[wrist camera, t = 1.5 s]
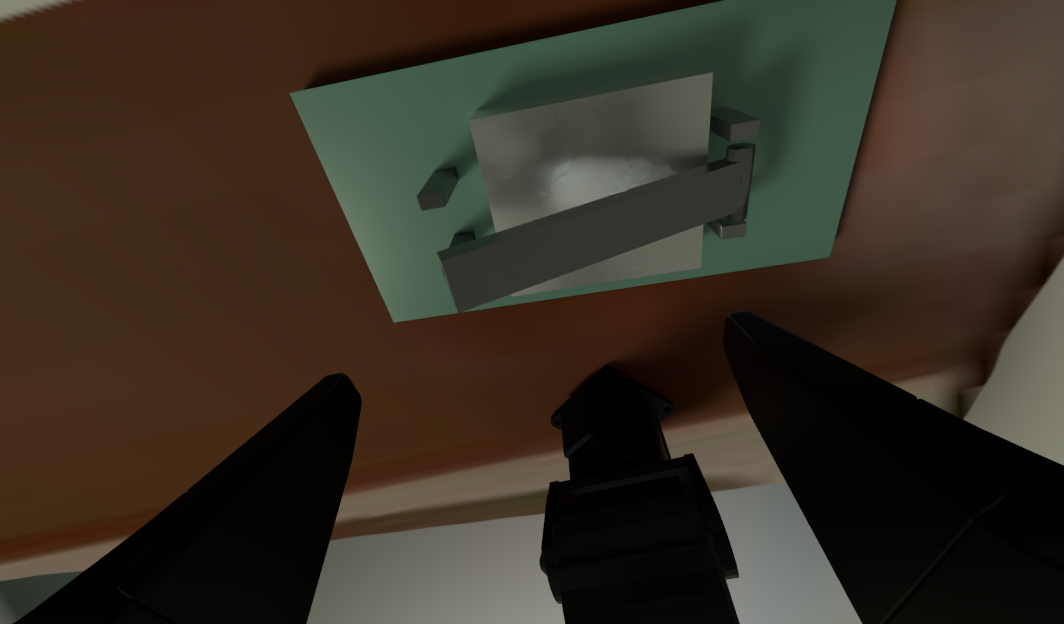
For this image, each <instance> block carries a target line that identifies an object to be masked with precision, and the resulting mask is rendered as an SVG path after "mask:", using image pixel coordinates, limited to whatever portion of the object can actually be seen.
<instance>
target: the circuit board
mask: <svg viewBox="0 0 1064 624" xmlns="http://www.w3.org/2000/svg"><path fill="white" fill-rule="evenodd" d="M896 1H897V0H722V1H717V2H712V3H708V4H703V5H698V6H694V7H689V8H684V9H680V10H675V11H670V12H666V13H661V14H656V15H652V16H647V17H642V18H637V19H633V20H628V21H623V22H619V23H614V24H609V25H605V26H600V27H595V28H591V29H586V30H581V31H577V32H572V33H567V34H563V35H558V36H553V37H549V38H544V39H539V40H535V41H530V42H525V43H521V44H516V45H511V46H507V47H502V48H497V49H493V50H488V51H483V52H478V53H474V54H469V55H464V56H460V57H455V58H450V59H446V60H441V61H436V62H432V63H427V64H422V65H418V66H413V67H408V68H404V69H399V70H394V71H390V72H385V73H380V74H376V75H371V76H366V77H362V78H357V79H352V80H348V81H343V82H338V83H334V84H329V85H324V86H319V87H315V88H310V89H305V90H301V91H297V92H293V93H290V95H291V98H292V100H293V102H294V104H295V106H296V108H297V111H298V113H299V115H300V117H301V119H302V122H303V124H304V126H305V128H306V130H307V133H308V135H309V137H310V139H311V141H312V144H313V146H314V148H315V150H316V152H317V155H318V157H319V159H320V161H321V163H322V166H323V168H324V170H325V172H326V174H327V177H328V179H329V181H330V183H331V185H332V188H333V190H334V192H335V194H336V196H337V198H338V201H339V203H340V205H341V207H342V209H343V212H344V214H345V216H346V218H347V220H348V223H349V225H350V227H351V229H352V231H353V234H354V236H355V238H356V240H357V242H358V245H359V247H360V249H361V251H362V253H363V256H364V258H365V260H366V262H367V264H368V267H369V269H370V271H371V273H372V275H373V278H374V280H375V282H376V284H377V286H378V288H379V291H380V293H381V295H382V297H383V299H384V302H385V304H386V306H387V308H388V310H389V313H390V315H391V317H392V319H393V321H394V322H400V321H407V320H413V319H420V318H427V317H434V316H440V315H447V314H454V313H458V311H457V309H456V307H455V304H454V302H453V299H452V296H451V294H450V291H449V288H448V285H447V282H446V280H445V278H444V275H443V272H442V269H441V264H440V261H439V258H438V256H437V253H436V252H438V251H441V250H444V249H448V248H449V246H450V244H451V241H452V239H453V236H454V234H458V233H464V232H470V231H474V235H475V238H476V239H478V238H481V237H484V236H487V235H490V234H494V233H496V231H495V227H494V223H493V219H492V214H491V210H490V206H489V202H488V198H487V194H486V190H485V186H484V182H483V178H482V173H481V169H480V165H479V161H478V157H477V153H476V149H475V145H474V141H473V137H472V132H471V128H470V124H469V119H470V118H471V117H472V115H473V114H474V112H475V111H476V110H481V109H486V108H491V107H496V106H501V105H506V104H511V103H517V102H522V101H527V100H532V99H537V98H542V97H547V96H552V95H557V94H562V93H567V92H572V91H577V90H582V89H587V88H592V87H597V86H602V85H607V84H612V83H617V82H622V81H627V80H632V79H637V78H642V77H647V76H652V75H657V74H662V73H667V72H672V71H677V70H682V69H687V68H695V69H700V70H704V71H709V72H713V81H712V97H711V109H714V108H719V107H724V106H726V107H729V108H732V109H734V110H737V111H740V112H742V113H745V114H748V115H750V116H753V117H755V118H758V119H761V120H760V128H759V136H758V137H755V138H750V139H744V140H739V141H733V142H729V141H728V140H726V139H724V138H722V137H720V136H719V135H717V134H715V133H713V132H711V131H709V144H708V160H707V164H708V163H712V162H715V161H718V160H721V159H724V158H726V149H727V146H729V145H732V144H737V143H753V144H755V145H756V151H755V159H754V167H753V175H752V183H751V191H750V199H749V207H748V215H747V218H746V219H744V221H746V222H747V231H746V236H745V237H739V238H732V239H726V240H721V239H720V238H719V237H718V236H717V235H716V234H715V233H714V232H713V230H712V229H711V228H710V227H709V226H708V225H707V224H706V223H705V224H703V240H702V256H701V268H697V269H691V270H684V271H677V272H671V273H664V274H658V275H651V276H644V277H638V278H631V279H625V280H618V281H611V282H605V283H598V284H592V285H585V286H578V287H572V288H565V289H559V290H552V291H545V292H539V293H532V294H526V295H519V296H511V294H510V295H507V296H505V297H502V298H499V299H496V300H494V301H491V302H488V303H485V304H483V305H480V306H477V307H474V308H472V309H469V310H466V311H463V312H467V311H474V310H480V309H487V308H494V307H500V306H507V305H514V304H520V303H527V302H534V301H540V300H547V299H554V298H561V297H567V296H574V295H581V294H587V293H594V292H601V291H607V290H614V289H621V288H627V287H634V286H641V285H647V284H654V283H661V282H667V281H674V280H681V279H687V278H694V277H701V276H708V275H714V274H721V273H728V272H734V271H741V270H748V269H754V268H761V267H768V266H774V265H781V264H788V263H794V262H801V261H808V260H814V259H821V258H828V257H830V255H831V251H832V247H833V243H834V239H835V236H836V232H837V228H838V224H839V220H840V216H841V212H842V209H843V205H844V201H845V197H846V193H847V189H848V186H849V182H850V178H851V174H852V170H853V166H854V163H855V159H856V155H857V151H858V147H859V143H860V139H861V136H862V132H863V128H864V124H865V120H866V116H867V113H868V109H869V105H870V101H871V97H872V93H873V90H874V86H875V82H876V78H877V74H878V70H879V66H880V63H881V59H882V55H883V51H884V47H885V43H886V40H887V36H888V32H889V28H890V24H891V20H892V17H893V13H894V9H895V5H896ZM451 167H456V170H457V173H458V177H459V181H458V183H457V185H456V187H455V189H454V191H453V193H452V195H451V197H450V199H449V201H448V203H447V205H446V207H441V208H435V209H430V210H424V211H421V208H420V205H419V202H418V199H417V195H418V193H419V192H420V191H421V189H422V188H423V186H424V185H425V184H426V182H427V181H428V179H429V178H430V176H431V175H432V174H433V172H434V171H435V170H440V169H446V168H451Z"/></svg>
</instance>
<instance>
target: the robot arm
mask: <svg viewBox="0 0 1064 624" xmlns="http://www.w3.org/2000/svg"><path fill="white" fill-rule="evenodd" d="M723 345H724V350H725V353H726V356H727V358H728V361H729V363H730V366H731V369H732V371H733V374H734V376H735V379H736V381H737V384H738V387H739V389H740V392H741V394H742V397H743V399H744V402H745V404H746V407H747V409H748V411H749V413H750V415H751V417H752V419H753V421H754V423H755V425H756V427H757V428H758V430H759V432H760V434H761V436H762V438H763V440H764V441H765V443H766V445H767V447H768V449H769V451H770V453H771V454H772V456H773V458H774V460H775V462H776V464H777V466H778V468H779V469H780V471H781V473H782V475H783V477H784V479H785V481H786V482H787V484H788V486H789V488H790V490H791V492H792V493H793V495H794V497H795V499H796V501H797V503H798V504H799V507H800V508H801V510H802V512H803V514H804V516H805V517H806V520H807V521H808V523H809V525H810V527H811V529H812V531H813V533H814V534H815V536H816V538H817V540H818V542H819V544H820V546H821V548H822V549H823V551H824V553H825V555H826V557H827V559H828V560H829V562H830V564H831V566H832V568H833V570H834V572H835V574H836V575H837V577H838V579H839V581H840V583H841V585H842V587H843V588H844V590H845V592H846V594H847V596H848V598H849V600H850V601H851V603H852V605H853V607H854V609H855V611H856V613H857V614H858V616H859V618H860V620H861V622H862V624H1064V465H1061V464H1059V463H1057V462H1055V461H1052V460H1050V459H1048V458H1045V457H1043V456H1041V455H1039V454H1036V453H1034V452H1032V451H1029V450H1027V449H1025V448H1023V447H1021V446H1018V445H1016V444H1014V443H1012V442H1010V441H1007V440H1005V439H1003V438H1001V437H999V436H996V435H994V434H992V433H990V432H988V431H985V430H983V429H981V428H979V427H977V426H975V425H973V424H971V423H969V422H967V421H965V420H963V419H961V418H959V417H957V416H955V415H953V414H951V413H948V412H946V411H944V410H942V409H940V408H938V407H937V406H935V405H933V404H931V403H929V402H927V401H925V400H923V399H917V397H916V396H915V395H913V394H911V393H909V392H907V391H905V390H903V389H901V388H899V387H897V386H895V385H893V384H891V383H889V382H887V381H885V380H883V379H881V378H879V377H877V376H875V375H873V374H871V373H869V372H867V371H866V370H864V369H862V368H860V367H858V366H856V365H854V364H852V363H850V362H848V361H846V360H844V359H842V358H840V357H838V356H836V355H834V354H832V353H830V352H828V351H826V350H824V349H822V348H820V347H818V346H816V345H814V344H812V343H811V342H809V341H807V340H805V339H803V338H801V337H799V336H797V335H795V334H793V333H791V332H789V331H787V330H785V329H783V328H781V327H779V326H777V325H775V324H773V323H771V322H769V321H767V320H765V319H763V318H761V317H759V316H757V315H756V314H754V313H752V312H749V311H738V312H732V313H729V314H728V315H727V316H726V320H725V329H724V339H723ZM606 374H610V375H606ZM361 404H362V401H361V397H360V394H359V393H358V391H357V389H356V388H355V386H354V385H353V383H352V382H351V380H350V379H349V377H348V376H347V375H346V374H344V373H338V374H332V375H328V376H326V377H324V378H323V379H322V380H321V381H320V382H318V383H317V384H316V385H315V386H313V387H312V388H311V389H310V390H309V391H307V392H306V393H305V394H304V395H303V396H301V397H300V398H299V399H298V400H296V401H295V402H294V403H293V404H292V405H290V406H289V407H288V408H287V409H286V410H284V411H283V412H282V413H281V414H279V415H278V416H277V417H276V418H275V419H273V420H272V421H271V422H270V423H268V424H267V425H266V426H265V427H264V428H262V429H261V430H260V431H259V432H258V433H256V434H255V435H254V436H253V437H251V438H250V439H249V440H248V441H247V442H245V443H244V444H243V445H242V446H241V447H239V448H238V449H237V450H236V451H234V452H233V453H232V454H231V455H230V456H228V457H227V458H226V459H225V460H224V461H222V462H221V463H220V464H219V465H217V466H216V467H215V468H214V469H213V470H211V471H210V472H209V473H208V474H207V475H205V476H204V477H203V478H202V479H200V480H199V481H198V482H197V483H196V484H194V485H193V486H192V487H191V488H190V489H188V491H187V493H183V494H182V495H181V496H180V497H178V498H177V499H176V500H175V501H174V502H172V503H171V504H170V505H169V506H168V507H166V508H165V509H164V510H163V511H161V512H160V513H159V514H158V515H156V516H155V517H154V518H153V519H151V520H150V521H149V522H148V523H146V524H145V525H144V526H143V527H141V528H140V529H139V530H138V531H136V532H135V533H134V534H132V535H131V536H130V537H129V538H127V539H126V540H125V541H123V542H122V543H121V544H119V545H118V546H117V547H115V548H114V549H113V550H112V551H110V552H109V553H108V554H106V555H105V556H104V557H102V558H101V559H100V560H98V561H97V562H96V563H94V564H93V565H92V566H90V567H89V568H88V569H86V570H85V571H84V572H82V573H81V574H80V575H79V576H77V577H76V578H74V579H73V580H72V581H70V582H69V583H68V584H66V585H65V586H64V587H62V588H61V589H60V590H58V591H57V592H56V593H54V594H53V595H52V596H50V597H49V598H48V599H47V600H45V601H44V602H43V603H41V604H40V605H38V606H37V607H36V608H35V609H33V610H32V611H30V612H29V613H28V614H26V615H25V616H23V617H22V618H21V619H19V620H18V621H16V622H15V623H13V624H306V623H307V620H308V616H309V613H310V609H311V605H312V602H313V598H314V595H315V591H316V588H317V584H318V581H319V577H320V573H321V570H322V566H323V563H324V559H325V556H326V552H327V548H328V545H329V541H330V538H331V534H332V531H333V527H334V524H335V520H336V517H337V513H338V509H339V506H340V502H341V499H342V495H343V492H344V488H345V485H346V481H347V477H348V474H349V470H350V466H351V462H352V457H353V452H354V447H355V441H356V435H357V429H358V423H359V417H360V411H361ZM666 407H667V408H666ZM673 411H674V406H673V403H672V402H671V401H669V400H668V399H666V398H664V397H662V396H661V395H659V394H657V393H655V392H654V391H652V390H650V389H648V388H646V387H645V386H643V385H641V384H639V383H638V382H636V381H634V380H632V379H631V378H629V377H627V376H625V375H623V374H622V373H620V372H618V371H616V370H615V369H613V368H611V367H605V368H603V369H601V370H600V371H599V372H598V373H597V374H596V375H595V376H594V377H593V378H592V379H591V380H590V381H588V382H587V383H586V384H585V385H584V386H583V387H581V388H580V389H579V390H578V391H577V392H576V393H575V394H574V395H573V396H572V397H571V398H570V399H568V400H567V401H566V402H565V403H564V404H563V405H562V406H561V408H560V409H559V410H558V411H557V412H555V413H554V414H553V415H552V417H551V424H552V425H553V426H554V427H556V428H558V429H560V430H562V436H563V449H564V456H565V457H566V458H568V459H569V471H570V480H567V481H562V482H559V481H555V482H550V485H549V494H548V495H547V501H546V510H545V520H544V528H543V539H542V548H541V549H542V553H541V557H540V567H541V570H542V571H543V572H544V573H545V574H546V575H547V576H548V581H549V585H550V588H551V591H552V594H553V596H554V598H555V600H556V602H558V603H559V604H562V607H563V613H564V618H565V624H740V623H739V620H738V617H737V614H736V611H735V608H734V605H733V601H732V598H731V595H730V592H729V589H728V586H727V583H726V580H727V579H732V578H739V573H738V569H737V565H736V561H735V558H734V554H733V551H732V548H731V545H730V541H729V538H728V536H727V533H726V530H725V527H724V524H723V522H722V520H721V516H720V514H719V511H718V509H717V506H716V504H715V502H714V499H713V497H712V495H711V493H710V490H709V488H708V486H707V484H706V481H705V479H704V477H703V475H702V472H701V470H700V468H699V466H698V463H697V461H696V459H695V457H694V454H693V453H691V454H686V455H684V457H679V458H675V459H671V456H670V453H669V450H668V447H667V444H666V441H665V438H664V435H663V432H662V429H661V426H660V423H659V422H660V421H662V420H663V419H664V418H666V417H667V416H668V415H669V414H671V413H672V412H673ZM557 420H559V421H557Z"/></svg>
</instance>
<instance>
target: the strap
mask: <svg viewBox="0 0 1064 624" xmlns="http://www.w3.org/2000/svg"><path fill="white" fill-rule="evenodd" d="M755 151H756V145H755V144H753V143H737V144H732V145H729V146H727V149H726V158H724V159H721V160H718V161H715V162H712V163H708V164H705V165H702V166H699V167H696V168H693V169H690V170H687V171H684V172H681V173H678V174H675V175H672V176H669V177H665V178H662V179H659V180H656V181H653V182H650V183H647V184H644V185H641V186H638V187H635V188H632V189H629V190H626V191H622V192H619V193H616V194H613V195H610V196H607V197H604V198H601V199H598V200H595V201H592V202H589V203H586V204H583V205H580V206H576V207H573V208H570V209H567V210H564V211H561V212H558V213H555V214H552V215H549V216H546V217H543V218H540V219H537V220H533V221H530V222H527V223H524V224H521V225H518V226H515V227H512V228H509V229H506V230H503V231H500V232H497V233H494V234H490V235H487V236H484V237H481V238H478V239H475V240H472V241H469V242H466V243H463V244H460V245H457V246H454V247H451V248H448V249H444V250H441V251H438V252H436V253H437V256H438V258H439V261H440V264H441V267H442V270H443V273H444V276H445V279H446V282H447V285H448V288H449V291H450V294H451V296H452V299H453V302H454V304H455V307H456V309H457V311H458V313H461V312H463V311H466V310H469V309H472V308H474V307H477V306H480V305H483V304H485V303H488V302H491V301H494V300H496V299H499V298H502V297H505V296H507V295H510V294H513V293H516V292H518V291H521V290H524V289H527V288H529V287H532V286H535V285H538V284H540V283H543V282H546V281H549V280H551V279H554V278H557V277H560V276H562V275H565V274H568V273H571V272H573V271H576V270H579V269H582V268H584V267H587V266H590V265H593V264H595V263H598V262H601V261H604V260H606V259H609V258H612V257H615V256H617V255H620V254H623V253H626V252H628V251H631V250H634V249H637V248H639V247H642V246H645V245H648V244H650V243H653V242H656V241H659V240H661V239H664V238H667V237H669V236H672V235H675V234H678V233H680V232H683V231H686V230H689V229H691V228H694V227H697V226H700V225H702V224H705V223H708V222H711V221H713V220H716V219H719V218H721V219H723V220H725V221H732V222H735V221H742V220H744V219H746V218H747V215H748V207H749V199H750V191H751V183H752V175H753V167H754V159H755Z"/></svg>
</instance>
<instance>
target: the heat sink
mask: <svg viewBox="0 0 1064 624" xmlns="http://www.w3.org/2000/svg"><path fill="white" fill-rule="evenodd" d="M712 81H713V72H709V71H704V70H700V69H695V68H687V69H682V70H677V71H672V72H667V73H662V74H657V75H652V76H647V77H642V78H637V79H632V80H627V81H622V82H617V83H612V84H607V85H602V86H597V87H592V88H587V89H582V90H577V91H572V92H567V93H562V94H557V95H552V96H547V97H542V98H537V99H532V100H527V101H522V102H517V103H511V104H506V105H501V106H496V107H491V108H486V109H481V110H476V111H475V112H474V114H473V115H472V117H471V118H470V119H469V124H470V128H471V132H472V137H473V141H474V145H475V149H476V153H477V157H478V161H479V165H480V169H481V173H482V178H483V182H484V186H485V190H486V194H487V198H488V202H489V206H490V210H491V214H492V219H493V223H494V227H495V231H496V233H497V232H500V231H503V230H506V229H509V228H512V227H515V226H518V225H521V224H524V223H527V222H530V221H533V220H537V219H540V218H543V217H546V216H549V215H552V214H555V213H558V212H561V211H564V210H567V209H570V208H573V207H576V206H580V205H583V204H586V203H589V202H592V201H595V200H598V199H601V198H604V197H607V196H610V195H613V194H616V193H619V192H622V191H626V190H629V189H632V188H635V187H638V186H641V185H644V184H647V183H650V182H653V181H656V180H659V179H662V178H665V177H669V176H672V175H675V174H678V173H681V172H684V171H687V170H690V169H693V168H696V167H699V166H702V165H705V164H707V160H708V144H709V131H711V132H713V133H715V134H717V135H719V136H720V137H722V138H724V139H726V140H728V141H729V142H733V141H739V140H744V139H750V138H755V137H758V136H759V128H760V120H761V119H758V118H755V117H753V116H750V115H748V114H745V113H742V112H740V111H737V110H734V109H732V108H729V107H726V106H724V107H719V108H714V109H711V97H712ZM458 181H459V177H458V173H457V170H456V167H451V168H446V169H440V170H435V171H434V172H433V174H432V175H431V176H430V178H429V179H428V181H427V182H426V184H425V185H424V186H423V188H422V189H421V191H420V192H419V193H418V195H417V199H418V202H419V205H420V208H421V211H424V210H430V209H435V208H441V207H446V205H447V203H448V201H449V199H450V197H451V195H452V193H453V191H454V189H455V187H456V185H457V183H458ZM706 224H707V225H708V226H709V227H710V228H711V229H712V230H713V232H714V233H715V234H716V235H717V236H718V237H719V238H720V239H721V240H726V239H732V238H739V237H745V236H746V231H747V222H746V221H744V220H742V221H735V222H732V221H725V220H723V219H721V218H719V219H716V220H713V221H711V222H708V223H706ZM475 239H476V238H475V235H474V231H470V232H464V233H458V234H454V236H453V239H452V241H451V244H450V246H449V248H451V247H454V246H457V245H460V244H463V243H466V242H469V241H472V240H475ZM702 240H703V224H702V225H700V226H697V227H694V228H691V229H689V230H686V231H683V232H680V233H678V234H675V235H672V236H669V237H667V238H664V239H661V240H659V241H656V242H653V243H650V244H648V245H645V246H642V247H639V248H637V249H634V250H631V251H628V252H626V253H623V254H620V255H617V256H615V257H612V258H609V259H606V260H604V261H601V262H598V263H595V264H593V265H590V266H587V267H584V268H582V269H579V270H576V271H573V272H571V273H568V274H565V275H562V276H560V277H557V278H554V279H551V280H549V281H546V282H543V283H540V284H538V285H535V286H532V287H529V288H527V289H524V290H521V291H518V292H516V293H513V294H511V296H519V295H526V294H532V293H539V292H545V291H552V290H559V289H565V288H572V287H578V286H585V285H592V284H598V283H605V282H611V281H618V280H625V279H631V278H638V277H644V276H651V275H658V274H664V273H671V272H677V271H684V270H691V269H697V268H701V256H702ZM441 269H442V267H441ZM442 272H443V270H442ZM443 275H444V273H443ZM444 278H445V276H444ZM445 280H446V279H445Z"/></svg>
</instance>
